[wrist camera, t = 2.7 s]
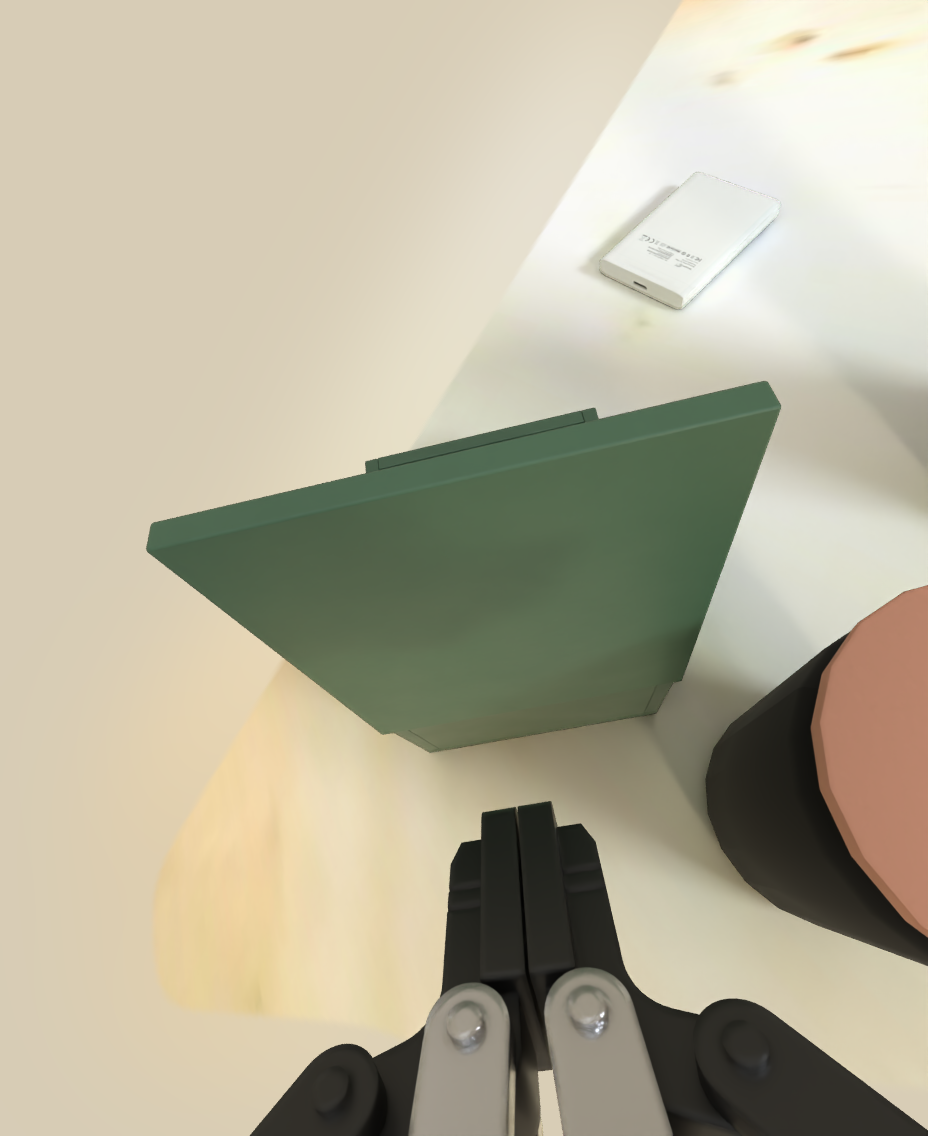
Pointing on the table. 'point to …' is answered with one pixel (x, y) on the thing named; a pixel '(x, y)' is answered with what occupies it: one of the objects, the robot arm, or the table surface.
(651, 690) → the green box
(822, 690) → the coffee jar
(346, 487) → the green lid
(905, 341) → the table surface
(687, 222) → the hard drive
